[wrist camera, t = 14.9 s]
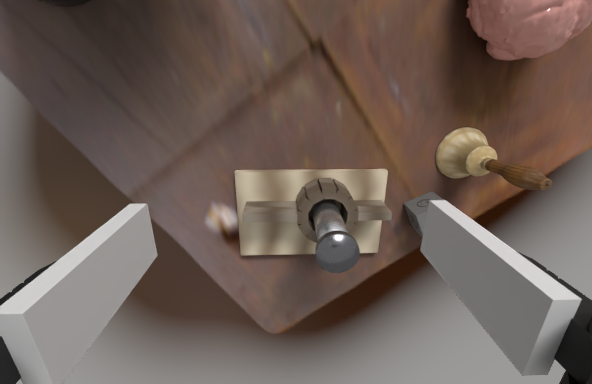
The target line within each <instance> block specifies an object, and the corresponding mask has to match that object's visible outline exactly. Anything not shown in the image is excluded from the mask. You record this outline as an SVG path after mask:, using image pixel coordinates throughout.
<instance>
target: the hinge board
mask: <svg viewBox="0 0 592 384" xmlns="http://www.w3.org/2000/svg"><path fill="white" fill-rule="evenodd" d="M387 175H388V171H387V170H386V169H317V170H236V171H235V184H236V197H237V210H238V223H239V236H240V250H241V255H284V254H315V247H316V244H317V242H318V241H317V235H316V230H315V225H314V219H313V214H312V207H313V205H314V204H315V203H317V202H319V201H321V200H323V199H335V202H336V204H337V206H338V209H339V211H340V214H341V216H342V219H343V221H344V224H345V226H346V229H347V231H348V233H349V234H351V235H352V236H353V237H354V238H355V240H356V242H357V244H358V246H359V249H360V253H378V247H379V239H380V231H381V223H382V220H391V218H392V212H391V211H390V210H389V208H388V207H387V206H386V205H385V204H384V199H385V191H386V183H387Z"/></svg>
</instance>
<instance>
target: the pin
mask: <svg viewBox="0 0 592 384" xmlns="http://www.w3.org/2000/svg"><path fill="white" fill-rule="evenodd" d="M312 214H313V219H314V225H315V230H316V235H317V241H318V242H317V244H316V247H315V254H316V260H317V262H318V264H319V265H320V266H321V267H322V268H323V269H324V270H326V271H328V272H332V273H341V272H345V271H347V270H349V269H351V268H352V267H353V266H354V265H355V264H356V263H357V261H358V259H359V256H360V249H359V246H358V244H357V242H356V240H355V238H354V237H353V236H352V235H351V234H349V233H348V231H347V229H346V226H345V224H344V221H343V219H342V216H341V214H340V211H339V209H338V206H337V204H336V202H335V199H323V200H321V201H319V202H317V203H315V204H314V205H313V207H312Z"/></svg>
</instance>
